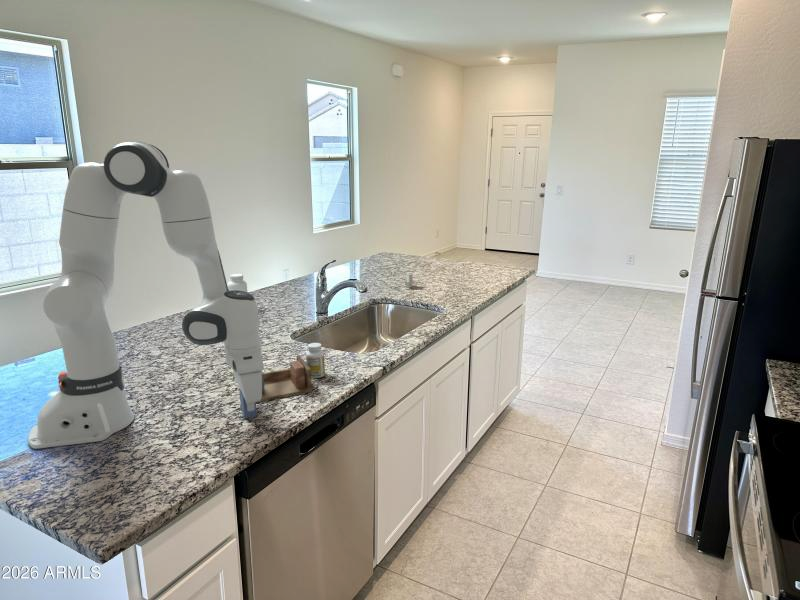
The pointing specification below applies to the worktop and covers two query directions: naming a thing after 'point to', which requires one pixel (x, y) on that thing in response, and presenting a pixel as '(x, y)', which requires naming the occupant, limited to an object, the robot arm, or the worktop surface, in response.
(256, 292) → the worktop surface
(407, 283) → the architectural model
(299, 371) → the rack
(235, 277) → the pill bottle
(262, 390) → the bookend
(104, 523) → the worktop surface
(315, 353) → the supplement bottle
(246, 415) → the blue block
